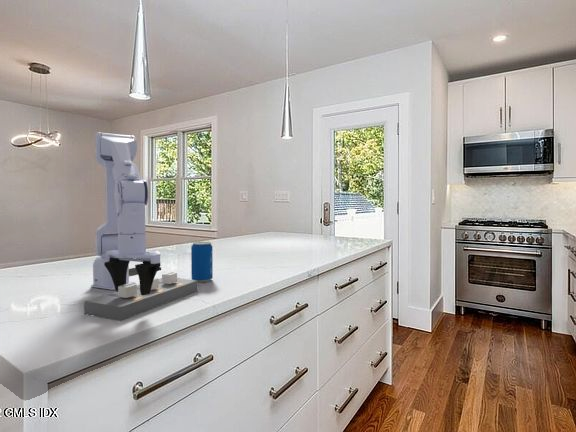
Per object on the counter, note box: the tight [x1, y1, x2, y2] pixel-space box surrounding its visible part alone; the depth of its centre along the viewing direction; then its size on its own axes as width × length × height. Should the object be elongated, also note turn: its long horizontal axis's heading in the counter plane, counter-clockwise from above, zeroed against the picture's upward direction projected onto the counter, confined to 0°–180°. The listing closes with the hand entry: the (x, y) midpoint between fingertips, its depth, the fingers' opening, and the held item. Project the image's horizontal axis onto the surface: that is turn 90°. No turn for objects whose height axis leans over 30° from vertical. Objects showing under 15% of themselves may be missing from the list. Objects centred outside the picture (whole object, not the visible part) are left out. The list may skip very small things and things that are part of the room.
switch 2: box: [151, 277, 159, 290], centre depth 86 cm, size 2×3×2 cm
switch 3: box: [161, 271, 178, 284], centre depth 93 cm, size 2×3×2 cm
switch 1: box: [118, 283, 138, 298], centre depth 80 cm, size 2×3×2 cm
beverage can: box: [190, 241, 214, 283], centre depth 109 cm, size 6×6×12 cm
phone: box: [129, 266, 162, 277], centre depth 122 cm, size 8×1×15 cm
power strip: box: [83, 277, 199, 322], centre depth 89 cm, size 11×31×3 cm, turn 158°
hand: (132, 292), depth 79 cm, fingers open, 7 cm apart
